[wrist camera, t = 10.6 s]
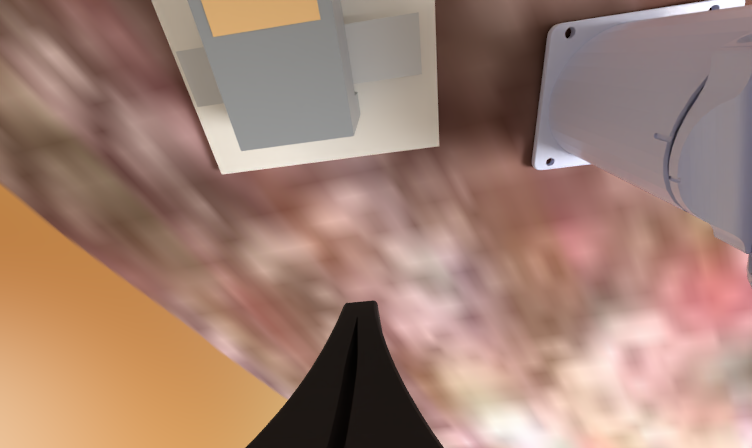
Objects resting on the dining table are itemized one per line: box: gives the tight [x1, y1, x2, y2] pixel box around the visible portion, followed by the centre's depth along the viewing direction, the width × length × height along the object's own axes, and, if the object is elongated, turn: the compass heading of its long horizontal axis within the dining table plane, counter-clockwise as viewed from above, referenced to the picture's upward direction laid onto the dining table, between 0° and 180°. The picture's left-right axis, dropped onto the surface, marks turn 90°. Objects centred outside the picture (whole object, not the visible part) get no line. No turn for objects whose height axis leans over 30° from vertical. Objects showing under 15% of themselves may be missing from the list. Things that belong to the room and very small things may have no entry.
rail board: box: [151, 0, 439, 174], centre depth 16 cm, size 14×11×2 cm
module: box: [187, 0, 361, 151], centre depth 14 cm, size 5×7×6 cm
